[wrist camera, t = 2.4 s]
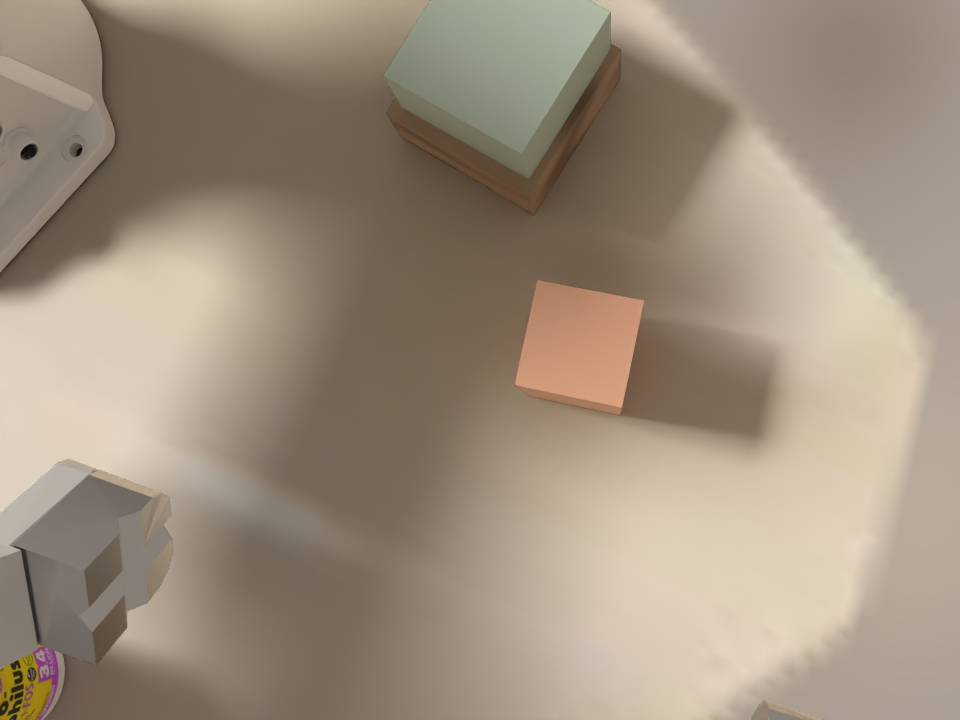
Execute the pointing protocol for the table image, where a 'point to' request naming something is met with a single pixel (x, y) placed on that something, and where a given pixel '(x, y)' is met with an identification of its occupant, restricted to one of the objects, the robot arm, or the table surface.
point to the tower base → (496, 174)
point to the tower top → (501, 71)
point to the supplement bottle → (31, 685)
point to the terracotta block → (579, 346)
